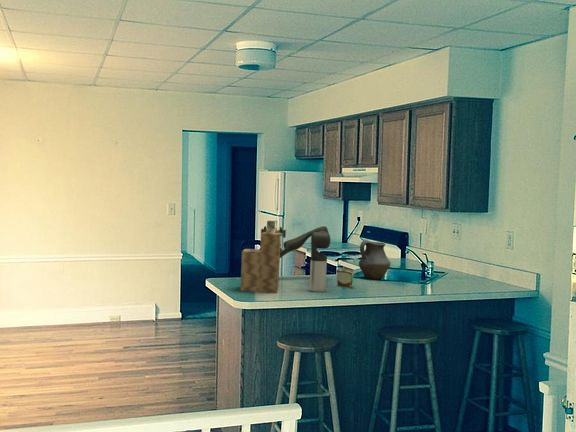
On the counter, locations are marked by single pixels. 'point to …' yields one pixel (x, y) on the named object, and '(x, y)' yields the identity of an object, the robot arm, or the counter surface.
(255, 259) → the walnut step stand
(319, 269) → the robot arm
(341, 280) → the food container
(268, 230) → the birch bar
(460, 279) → the counter surface
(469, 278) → the counter surface
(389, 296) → the counter surface
